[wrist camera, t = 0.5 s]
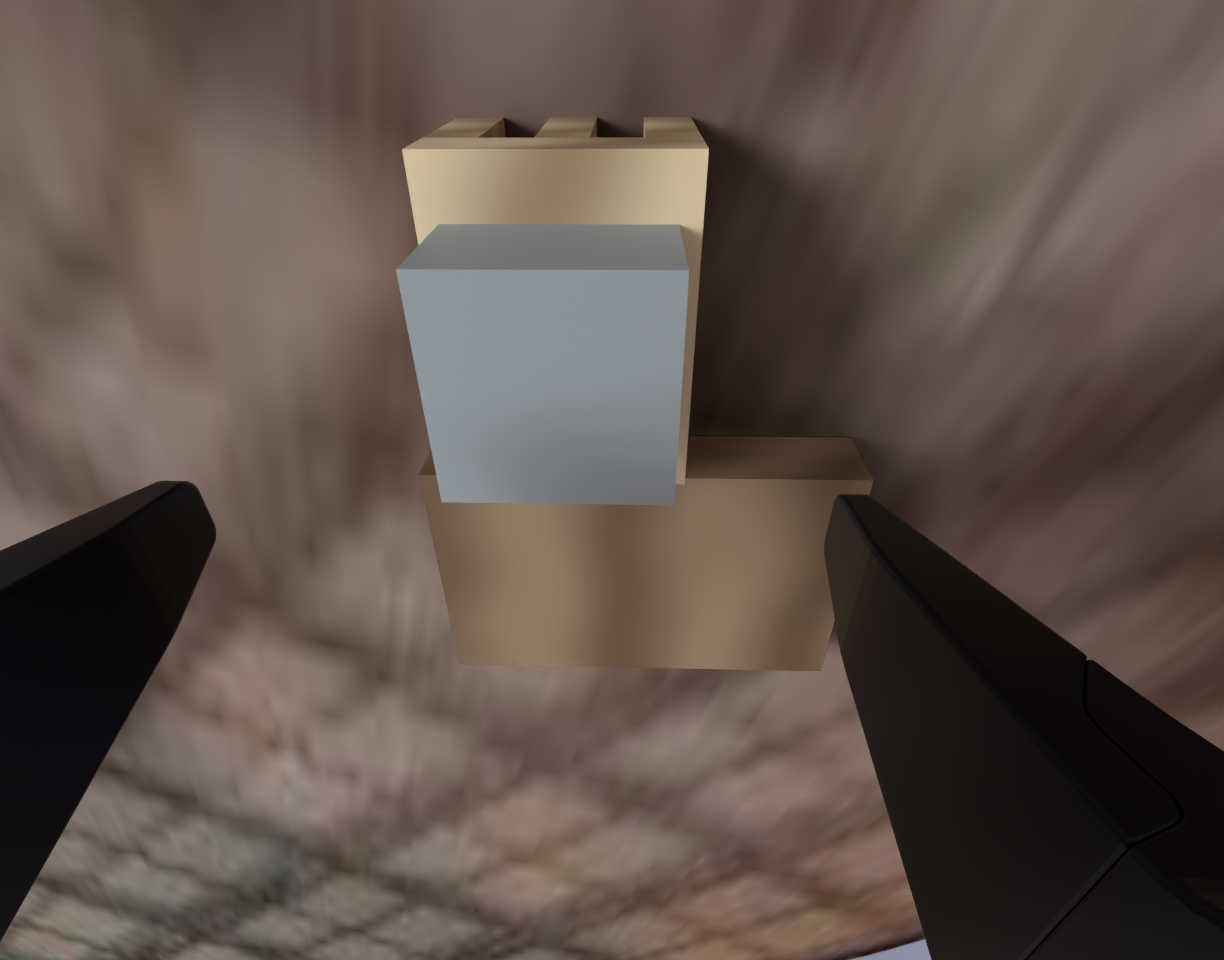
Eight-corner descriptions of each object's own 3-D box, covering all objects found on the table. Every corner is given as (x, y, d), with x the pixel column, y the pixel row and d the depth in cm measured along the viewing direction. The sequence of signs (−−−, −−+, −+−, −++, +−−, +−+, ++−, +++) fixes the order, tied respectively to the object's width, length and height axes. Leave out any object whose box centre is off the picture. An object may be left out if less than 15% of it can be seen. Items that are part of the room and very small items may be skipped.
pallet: (690, 117, 17) (708, 149, 13) (675, 394, 21) (684, 484, 17) (458, 117, 17) (401, 149, 13) (492, 393, 22) (459, 481, 17)
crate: (679, 224, 14) (688, 270, 11) (668, 432, 16) (674, 504, 14) (438, 223, 14) (396, 269, 11) (469, 430, 17) (441, 502, 14)
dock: (851, 437, 22) (873, 480, 20) (806, 622, 27) (820, 671, 25) (438, 433, 22) (419, 475, 20) (472, 616, 28) (459, 664, 26)
